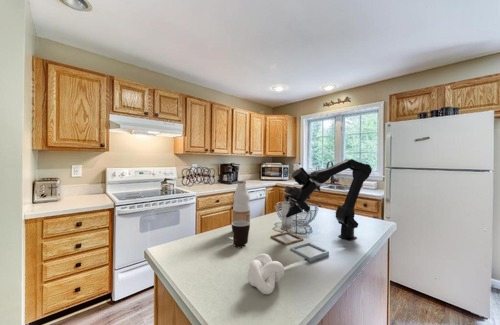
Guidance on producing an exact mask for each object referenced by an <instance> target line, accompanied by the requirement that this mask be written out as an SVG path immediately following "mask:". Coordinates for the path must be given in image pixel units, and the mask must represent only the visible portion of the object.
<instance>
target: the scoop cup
mask: <svg viewBox="0 0 500 325" xmlns="http://www.w3.org/2000/svg"><path fill="white" fill-rule="evenodd" d="M291 207H292V202H287V201H286V200H285V201H282V202H281V228H282V230H291V229H292V228H293V216H291V217H288V218H287V217H286V215H287V213H288V212H289V210H290V209H291Z"/></svg>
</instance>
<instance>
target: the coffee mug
mask: <svg viewBox="0 0 500 325" xmlns="http://www.w3.org/2000/svg"><path fill="white" fill-rule="evenodd" d="M230 225H231V231H232V232H231V233H232V241H233V246H234V247H236V248H246V247H247V245H246V244H247V243H248V241H249V233H250V230H249V226H250V227H251V222H250V223H249V222H247V221H234V222H233V221H232V222H231V224H230Z"/></svg>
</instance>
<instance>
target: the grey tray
mask: <svg viewBox="0 0 500 325" xmlns="http://www.w3.org/2000/svg"><path fill="white" fill-rule="evenodd" d="M306 246H311V247H313V248H316V249H317V250H319V251H321V252H320V253H317V254H314V255H312V256H309V255H307V254H306V253H303V252H301V251H299V250H297V249H298V248H302V247H306ZM289 249H290V250H291V251H293V252H294V253H296V254H298V255H300V256H302V257H303V260H304V261H306V262H308V263H310V264H311V263H313V262H316V261H319V260H321V259H325V258H327V257H329V256H330V251H329V250H327V249H326V248H325V249H324V248H323V247H321V246H319V245H315V244H314V243H312V242H309V241H308V242H304V243H301V244H298V245H293V246H290V248H289Z"/></svg>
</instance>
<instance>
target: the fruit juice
mask: <svg viewBox="0 0 500 325" xmlns="http://www.w3.org/2000/svg"><path fill="white" fill-rule="evenodd" d="M236 184H237V186H236V189H235V192H234V194H232V196H233V205H232V222H234V221H247V222H249V223H250V224H251V204H250V198H251V197H250V196H251V195H250V193H249V192H248V188H247V186H246V185H247V181H246V180H241V179H240V180H237V181H236ZM250 230H251V225H250V226H249V231H250Z"/></svg>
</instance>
